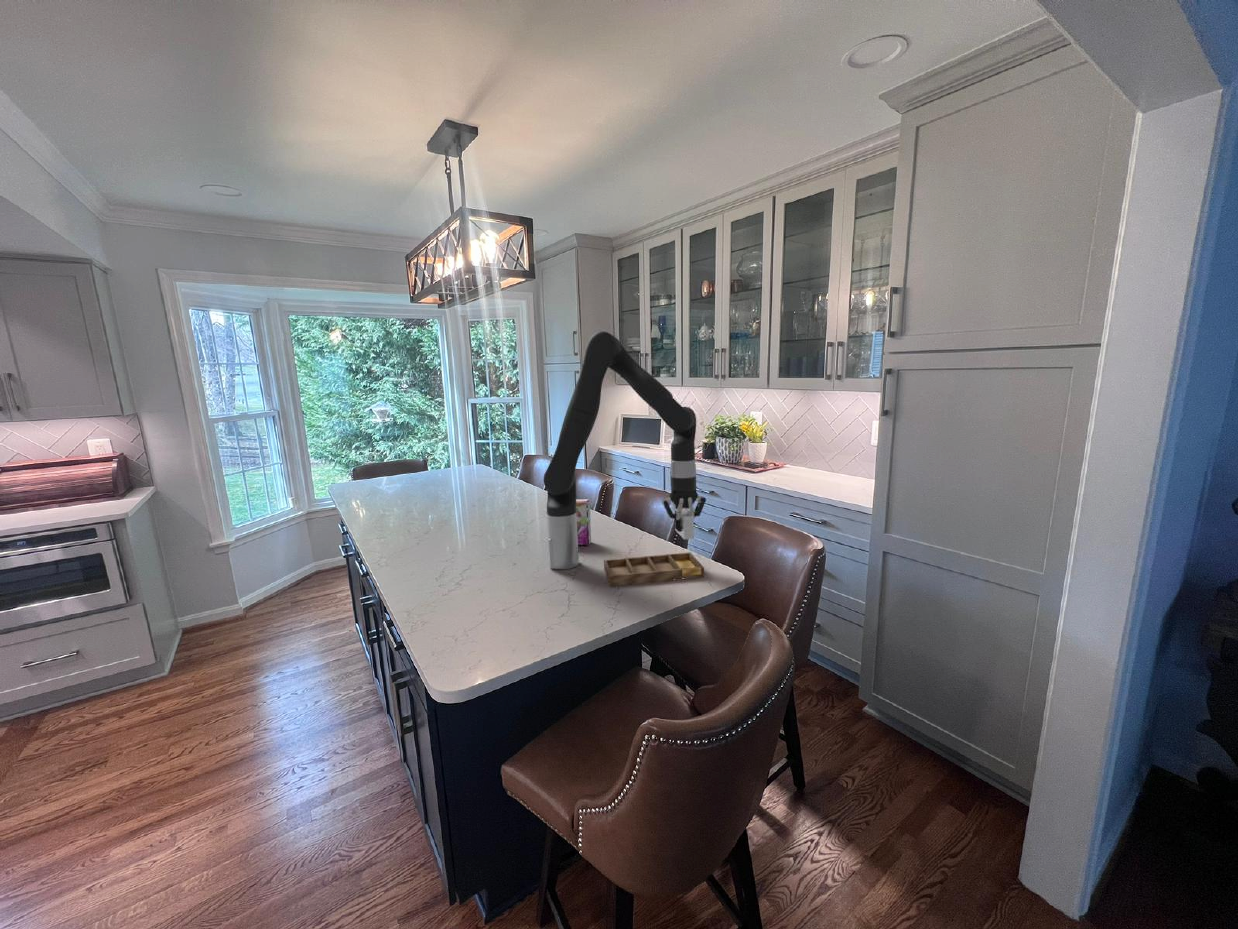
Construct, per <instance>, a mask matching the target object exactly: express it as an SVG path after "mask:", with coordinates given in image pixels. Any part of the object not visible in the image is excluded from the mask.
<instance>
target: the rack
mask: <svg viewBox="0 0 1238 929" xmlns="http://www.w3.org/2000/svg"><path fill="white" fill-rule="evenodd" d="M603 570H604V573H605V575H606V579H607V581H608V584H609V587H616V586H617V587H618V586H627V585H637V584H638V583H639V584H647V583H646V582H650V583H658V582H657V581H660V582H666V581H665V580H670V581H675V580H674V579H680V580H683V579H682V578H690V579H698V578H700V577H701V578H704V577H705V567H704V566H703V565H702V564H701V563H700V561H699V560H698V559H697V558H696V557H695V556H694V554H692V552H679V553H670V554H669V553H667V554H657V555H646V556H635V557H625V558H623V557H622V558H613V559H611V558H610V559H604V560H603ZM639 584H638V585H639Z"/></svg>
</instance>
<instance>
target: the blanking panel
mask: <svg viewBox="0 0 1238 929" xmlns="http://www.w3.org/2000/svg"><path fill="white" fill-rule="evenodd" d="M680 527H681V531H680V532H678V531H677V530H676V529H674V530H675V531H676V533H677V534H679V536H680V537H681V538H682V539H683V540H695V518H694V516H693V515H692V514H691V513H690V512H689V511H687V508H682V512H681V513H680Z"/></svg>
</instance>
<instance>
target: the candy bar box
mask: <svg viewBox="0 0 1238 929" xmlns="http://www.w3.org/2000/svg"><path fill="white" fill-rule="evenodd" d="M590 502H591V500H590V499H589V498H587V499H585V498H584V499H580V498H578V499H577V498H576V519H577V538H578V547H583V546H582V545H587V546H586V547H588V545H589V544H591V543H592V526H591V524H592V523H591V503H590ZM579 545H581V546H579ZM589 546H590V545H589Z"/></svg>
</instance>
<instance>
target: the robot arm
mask: <svg viewBox="0 0 1238 929" xmlns="http://www.w3.org/2000/svg"><path fill="white" fill-rule="evenodd" d="M582 362H583V363H582V366H581V369H580V370H581V371H580V374H579V377H578V380H577V381H576V384H575V386H574V389H573V392H572V395H571V398H570V401H569V403H568V406H567V409H566V411H565V414H564V418H563V422H562V424H561V429H560V433H559V437H558V440H557V441H558V442H557V445H556V448H555V451H554V454H553V456H552V458H551V460H550V463H549V464H548V467H547V469H546V470H545V472H544V475H543V485H544V487H545V489H546V491H547V493H546V494H547V502H546V516H547V531H548V552H549V554H548V555H549V567H550V569H553V570H554V569H555V570H568V569H569V570H571V569H573V568H575V567H577V566H578V565H579V564H580V562H579V561H580V560H579V559H580V558H579V546H578V538H577V519H576V499H577V485H576V484H577V483H576V482H577V481H576V473H575V471H576V468H577V464H578V460H579V458H580V455H581V453H582V451H583V449H584V446H585V445H586V443H587V441H588V440H589V438H590V435H591V432H592V431H593V428H594V425H595V423H596V420H597V417H598V414H599V410H600V406H601V397H602V396H601V395H602V387H603V386H602V385H603V382H604V378H605V375H606V373H607V371H608V369H610V370H612V371H613V372H615V373H616V374H618V375H619V376H620V377H621V378H622V379H623V380H625V382H626V383H627V384H628V385H629V386H630V387H631V388H632V390H634V392H635V393H636V394H637V395H638V396H639V397H640V398H641V399H642V400H643V401H644V402H645V403H646V404H647V406H648V405H649V407H651V409H652V410H654V411H655V412H656V413H657V414H658V416H659V418H661V420H662V421H663V422H664V423H665V424H666V425H667V427H668V428H670V429H671V430H673V440H672V442H671V445H670V459H671V460H670V472H669V473H670V494H669V497H667V498H662V499H661V504H662V505H663V507H664V509H665V511H666V514H667V515H668V517H669V518H671V519H673V520H674V528H675V529H676V530H677V531H678V532H680V531H681V527H680V513H681V512H682V508H685V509H686V510H687V511H689V512H690V513H691V514H692V515H693V516H694V519H695V518H696V517H700V516H701V513H702V511H703V508H704V507H705V504H706V501H707V499H706V497H704V496H703V495H702V496H701V495H699V494H698V492H697V465H696V451H695V450H696V449H695V448H696V447H695V446H696V445H695V439H696V431H697V417H696V416H697V415H696V413H695V412H694V410H693V408H690V407H689V406H682V405H681V404H680V403H679V402H678V401H677V400H676V399H675V398H674V396H673V393H672V392H671V391H670V390H668V389H667V388H666V387H665V386H664V385H663V384H662V383H661V382H660V381H659V380H658V379H656V378H655V377H654V376H653V375H652V374H650V373H649V372H648V371H646V370H645V369H644V368H643V367H642V366H641V365H640V364H638V362H636V361H635V359H634V358H633V357H632V356H631V355H630V354H629V353H628V351H627V349H626V348H625V347H624V346H623V345H622V343H621V341H620V340H619V339H618V338H617V336H614V335H613V334H611V333H610V332H608V331H604V330H603V331H597V332H596V333H594V334H593V335H592V336H591V337H590V338H589V340H588V342H587V344H586V349H585V354H584V358H583V361H582ZM671 502H672V503H673V505H674V513H673V510H672V509H671ZM696 502H697V504H696V506H695V508H694V504H695V503H696ZM675 529H674V530H675ZM676 530H675V531H676ZM677 531H676V532H677ZM678 532H677V533H678Z"/></svg>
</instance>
